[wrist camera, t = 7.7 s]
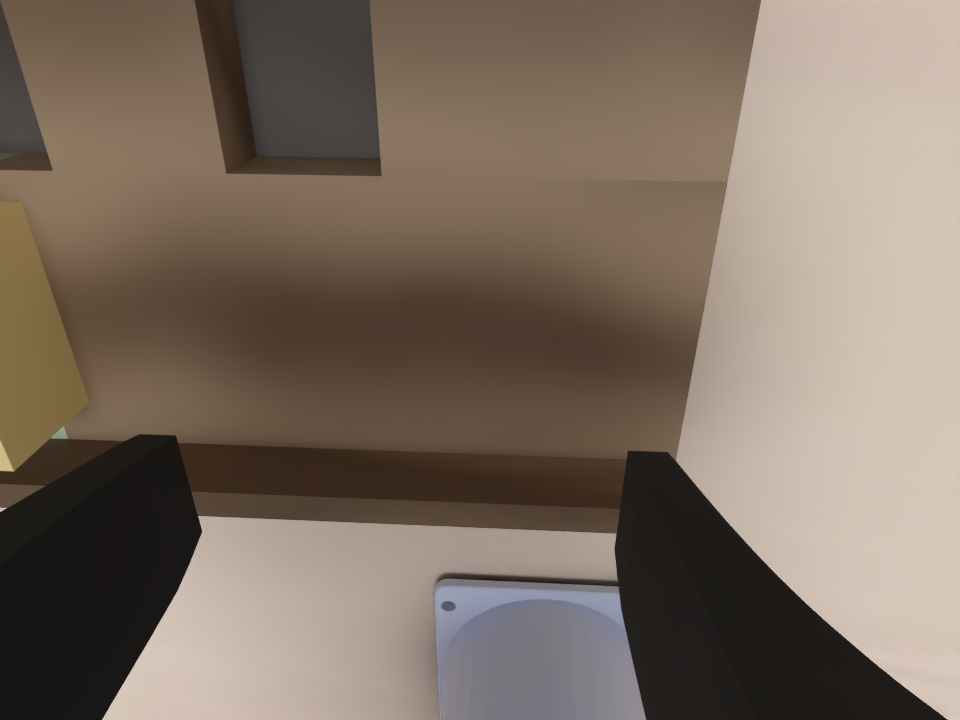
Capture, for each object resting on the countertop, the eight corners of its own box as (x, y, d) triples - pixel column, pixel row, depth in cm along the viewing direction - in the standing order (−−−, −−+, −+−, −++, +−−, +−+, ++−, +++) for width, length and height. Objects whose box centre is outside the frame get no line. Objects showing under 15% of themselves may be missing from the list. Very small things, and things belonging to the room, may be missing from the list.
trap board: (654, 451, 20) (688, 565, 16) (-56, 425, 21) (-196, 526, 17) (763, -212, 12) (882, -320, 8) (-355, -199, 14) (-738, -288, 9)
